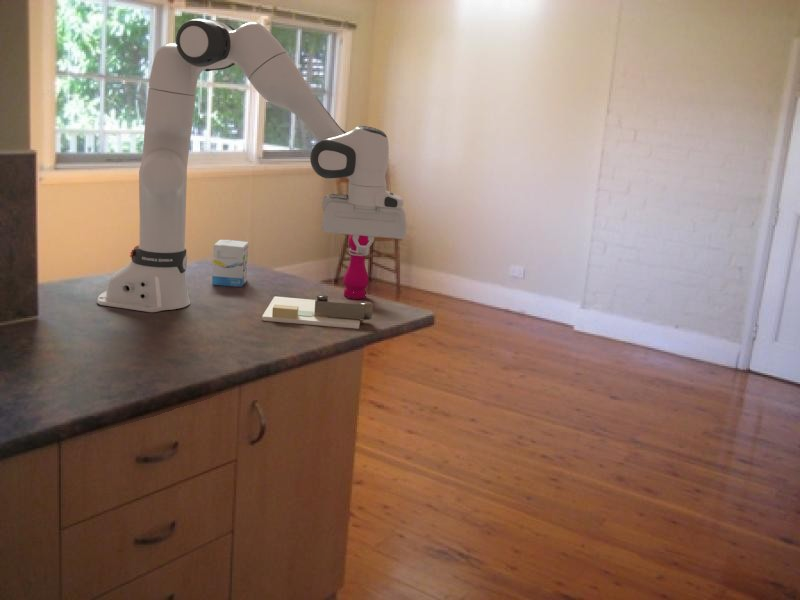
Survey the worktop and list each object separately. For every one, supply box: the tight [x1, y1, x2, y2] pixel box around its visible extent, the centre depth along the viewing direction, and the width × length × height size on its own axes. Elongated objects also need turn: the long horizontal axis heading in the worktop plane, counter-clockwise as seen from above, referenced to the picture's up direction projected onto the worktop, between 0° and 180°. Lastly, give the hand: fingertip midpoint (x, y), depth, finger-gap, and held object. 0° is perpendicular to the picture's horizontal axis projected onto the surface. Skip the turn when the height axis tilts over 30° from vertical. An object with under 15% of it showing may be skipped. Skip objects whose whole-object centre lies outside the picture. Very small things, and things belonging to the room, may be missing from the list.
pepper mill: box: [342, 234, 370, 300], centre depth 244 cm, size 7×7×20 cm
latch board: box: [261, 295, 362, 330], centre depth 225 cm, size 24×20×4 cm
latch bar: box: [314, 294, 373, 321], centre depth 221 cm, size 14×4×5 cm, turn 89°
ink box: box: [211, 239, 249, 288], centre depth 248 cm, size 8×8×12 cm
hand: (362, 253), depth 211 cm, fingers closed
